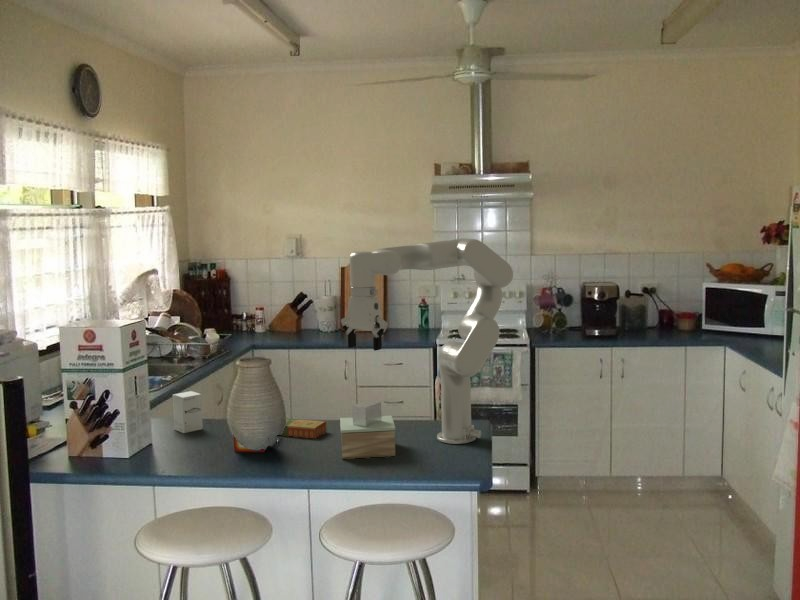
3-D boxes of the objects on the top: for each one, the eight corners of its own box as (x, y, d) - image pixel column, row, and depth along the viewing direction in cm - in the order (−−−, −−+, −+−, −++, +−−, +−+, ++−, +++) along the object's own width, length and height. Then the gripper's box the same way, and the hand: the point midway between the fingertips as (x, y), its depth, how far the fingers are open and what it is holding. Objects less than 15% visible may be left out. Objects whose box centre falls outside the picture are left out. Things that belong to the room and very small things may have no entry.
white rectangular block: (381, 420, 243) (381, 401, 243) (365, 426, 237) (365, 407, 236) (368, 418, 246) (368, 400, 245) (352, 424, 240) (352, 405, 239)
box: (395, 456, 236) (394, 431, 235) (342, 459, 235) (341, 433, 234) (391, 443, 250) (391, 418, 249) (341, 445, 249) (340, 420, 248)
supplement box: (183, 434, 266) (181, 397, 264) (173, 429, 271) (171, 394, 270) (203, 429, 271) (201, 393, 269) (193, 425, 276) (191, 390, 274)
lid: (395, 430, 235) (395, 427, 235) (340, 432, 234) (340, 430, 234) (391, 418, 249) (391, 415, 249) (340, 420, 248) (340, 417, 248)
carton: (315, 440, 256) (314, 427, 256) (272, 436, 262) (272, 423, 262) (327, 433, 264) (326, 420, 263) (285, 429, 270) (284, 417, 269)
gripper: (393, 292, 235) (395, 348, 237) (348, 290, 244) (350, 344, 247) (378, 295, 228) (380, 353, 231) (333, 292, 238) (335, 348, 240)
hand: (364, 348), depth 239 cm, fingers open, 9 cm apart
